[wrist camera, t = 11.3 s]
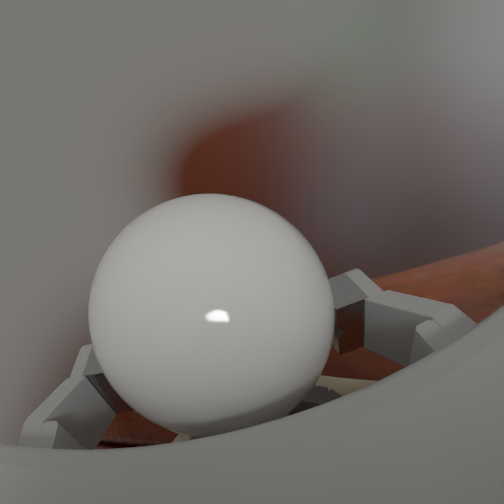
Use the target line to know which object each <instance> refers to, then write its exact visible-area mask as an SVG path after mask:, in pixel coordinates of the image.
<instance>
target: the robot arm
mask: <svg viewBox="0 0 504 504" xmlns="http://www.w3.org/2000/svg"><path fill="white" fill-rule="evenodd" d="M329 282H330V285H331V289H332V294H333V299H334V307H335V329H334V337H333V342H332V345H333V347H334V348H335V350H336V351H337V353H338V354H339V355H342V354H344V353H347V352H350V351H353V350H355V349H358V348H360V347H363V346H364V348H367V349H369V350H371V351H373V352H375V353H377V354H379V355H381V356H383V357H386V358H388V359H390V360H392V361H394V362H396V363H398V364H401V365H403V366H405V368H403V369H401V370H399V371H397V372H395V373H393V374H391V375H389V376H387V377H385V378H383V379H381V380H379V381H377V382H374V383H372V384H370V385H368V386H366V387H363V388H361V389H359V390H357V391H354V392H352V393H349V394H347V395H345V396H342V397H340V398H337V399H335V400H332V401H329V402H327V403H324V404H321V405H319V406H316V407H313V408H310V409H308V410H305V411H302V412H299V413H296V414H293V415H290V416H286V417H283V418H280V419H277V420H273V421H270V422H266V423H263V424H259V425H256V426H252V427H248V428H244V429H240V430H236V431H232V432H227V433H223V434H218V435H214V436H209V437H204V438H198V439H193V440H187V441H181V442H174V443H167V444H159V445H151V446H142V447H130V448H116V449H95V448H96V447H97V445H98V443H99V442H100V440H101V439H102V437H103V435H104V434H105V432H106V431H107V429H108V427H109V426H110V424H111V423H112V421H113V419H114V418H115V416H116V415H117V414H116V413H120V412H126V411H132V410H133V409H132V408H131V407H130V406H129V405H128V404H127V403H126V402H125V401H124V400H123V399H122V398H121V397H120V396H119V395H118V394H117V393H116V391H115V390H114V389H113V388H112V386H111V385H110V383H109V382H108V380H107V379H106V377H105V375H104V374H103V372H102V370H101V368H100V366H99V363H98V361H97V358H96V356H95V353H94V350H93V346H92V344H90V345H85V346H83V347H82V348H81V349H80V352H79V354H78V357H77V359H76V362H75V365H74V368H73V370H72V373H71V376H70V379H66V380H65V381H64V382H63V383H62V384H61V385H60V386H59V387H58V388H57V389H56V390H55V391H54V392H53V393H52V394H51V395H50V396H49V397H48V398H47V399H46V400H45V401H44V402H43V403H42V404H41V405H40V406H39V407H38V408H37V409H36V410H35V411H34V412H33V413H32V414H31V415H30V416H29V417H28V418H27V419H26V420H25V424H24V427H23V429H22V432H21V435H20V439H19V442H18V445H17V446H14V445H6V444H0V504H504V305H503V306H501V307H500V308H499V309H498V310H496V311H495V312H493V313H492V314H491V315H489V316H488V317H487V318H485V319H484V320H482V321H481V322H480V323H478V324H476V323H474V322H473V321H472V320H471V319H470V318H469V317H467V316H466V315H465V314H464V313H463V312H462V311H460V310H459V309H458V308H457V307H456V306H454V305H452V304H448V303H443V302H439V301H434V300H430V299H425V298H421V297H416V296H412V295H408V294H403V293H399V292H394V291H390V290H387V291H383V290H382V289H380V288H379V287H378V286H377V285H376V284H375V283H374V282H373V281H372V280H371V279H370V278H368V277H367V276H366V275H365V274H364V273H363V272H362V271H361V270H360V269H357V268H355V269H353V270H350V271H348V272H345V273H343V274H341V275H338V276H335V277H332V278H330V279H329Z"/></svg>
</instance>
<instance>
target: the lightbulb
mask: <svg viewBox="0 0 504 504" xmlns="http://www.w3.org/2000/svg"><path fill="white" fill-rule="evenodd" d="M88 322H89V331H90V338H91V342H92V346H93V350H94V353H95V356H96V358H97V361H98V363H99V366H100V368H101V370H102V372H103V374H104V375H105V377H106V379H107V380H108V382H109V383H110V385H111V386H112V388H113V389H114V390H115V391H116V393H117V394H118V395H119V396H120V397H121V398H122V399H123V400H124V401H125V402H126V403H127V404H128V405H129V406H130V407H131V408H132V409H133V410H135V411H136V412H137V413H138V414H140V415H141V416H143V417H144V418H145V419H147V420H149V421H150V422H152V423H154V424H156V425H158V426H160V427H162V428H164V429H166V430H169V431H172V432H175V433H178V434H181V435H185V436H190V437H196V438H204V437H209V436H214V435H218V434H223V433H227V432H232V431H236V430H240V429H244V428H248V427H252V426H256V425H259V424H263V423H266V422H270V421H273V420H277V419H280V418H283V417H286V416H288V415H289V413H290V412H291V411H292V410H293V409H295V408H296V407H297V406H298V405H299V404H300V403H301V402H302V401H303V400H304V398H305V397H306V396H307V395H308V394H309V392H310V391H311V390H312V388H313V387H314V386H315V384H316V382H317V381H318V379H319V377H320V376H321V374H322V372H323V370H324V367H325V365H326V363H327V360H328V357H329V354H330V351H331V347H332V342H333V337H334V329H335V307H334V299H333V294H332V289H331V285H330V282H329V279H328V276H327V274H326V271H325V269H324V266H323V264H322V262H321V260H320V258H319V257H318V255H317V253H316V252H315V250H314V249H313V247H312V246H311V244H310V243H309V242H308V241H307V239H306V238H305V237H304V236H303V235H302V233H301V232H300V231H299V230H298V229H297V228H295V226H293V225H292V224H291V223H290V222H289V221H287V220H286V219H285V218H283V217H282V216H281V215H279V214H278V213H276V212H274V211H273V210H271V209H269V208H267V207H265V206H263V205H261V204H259V203H256V202H254V201H251V200H248V199H244V198H241V197H237V196H231V195H224V194H196V195H189V196H184V197H179V198H175V199H172V200H169V201H167V202H164V203H162V204H160V205H158V206H155V207H154V208H151V209H149V210H148V211H146V212H144V213H143V214H141V215H140V216H138V217H137V218H136V219H134V220H133V221H132V222H131V223H129V224H128V225H127V226H126V227H125V228H124V229H123V230H122V231H121V232H120V233H119V234H118V235H117V237H116V238H115V239H114V240H113V242H112V243H111V244H110V246H109V248H108V249H107V250H106V252H105V254H104V255H103V257H102V259H101V261H100V263H99V265H98V268H97V270H96V273H95V275H94V279H93V282H92V286H91V290H90V296H89V306H88Z"/></svg>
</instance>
